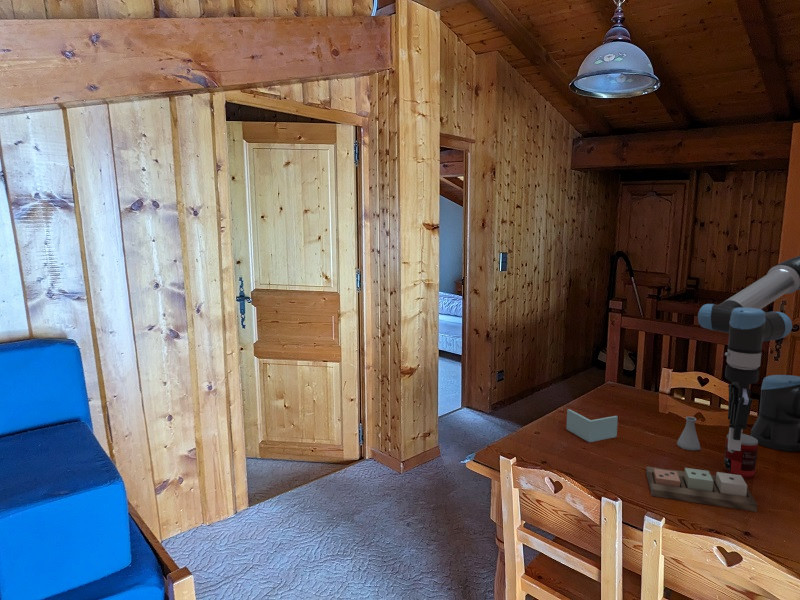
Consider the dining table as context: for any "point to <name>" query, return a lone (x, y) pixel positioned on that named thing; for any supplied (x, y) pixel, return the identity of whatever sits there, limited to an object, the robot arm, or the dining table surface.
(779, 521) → the dining table surface
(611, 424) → the right angle wall
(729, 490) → the tile one
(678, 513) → the dining table surface
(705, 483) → the tile two
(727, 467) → the canned food
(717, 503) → the button board
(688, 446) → the flask
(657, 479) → the tile three
